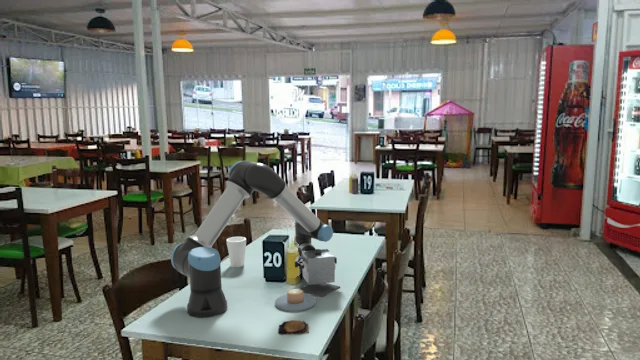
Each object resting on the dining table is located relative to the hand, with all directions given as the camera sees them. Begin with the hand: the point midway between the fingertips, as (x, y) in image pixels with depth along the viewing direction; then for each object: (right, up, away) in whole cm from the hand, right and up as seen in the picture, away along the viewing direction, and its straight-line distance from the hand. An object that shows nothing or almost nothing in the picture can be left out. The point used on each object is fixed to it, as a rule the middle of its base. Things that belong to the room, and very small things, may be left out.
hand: (320, 267), depth 208 cm
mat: (-1, -10, +5) cm, 11 cm away
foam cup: (-40, -6, +39) cm, 57 cm away
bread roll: (-9, -17, -31) cm, 37 cm away
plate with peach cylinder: (-10, -12, -9) cm, 18 cm away
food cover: (-1, -5, +5) cm, 7 cm away
